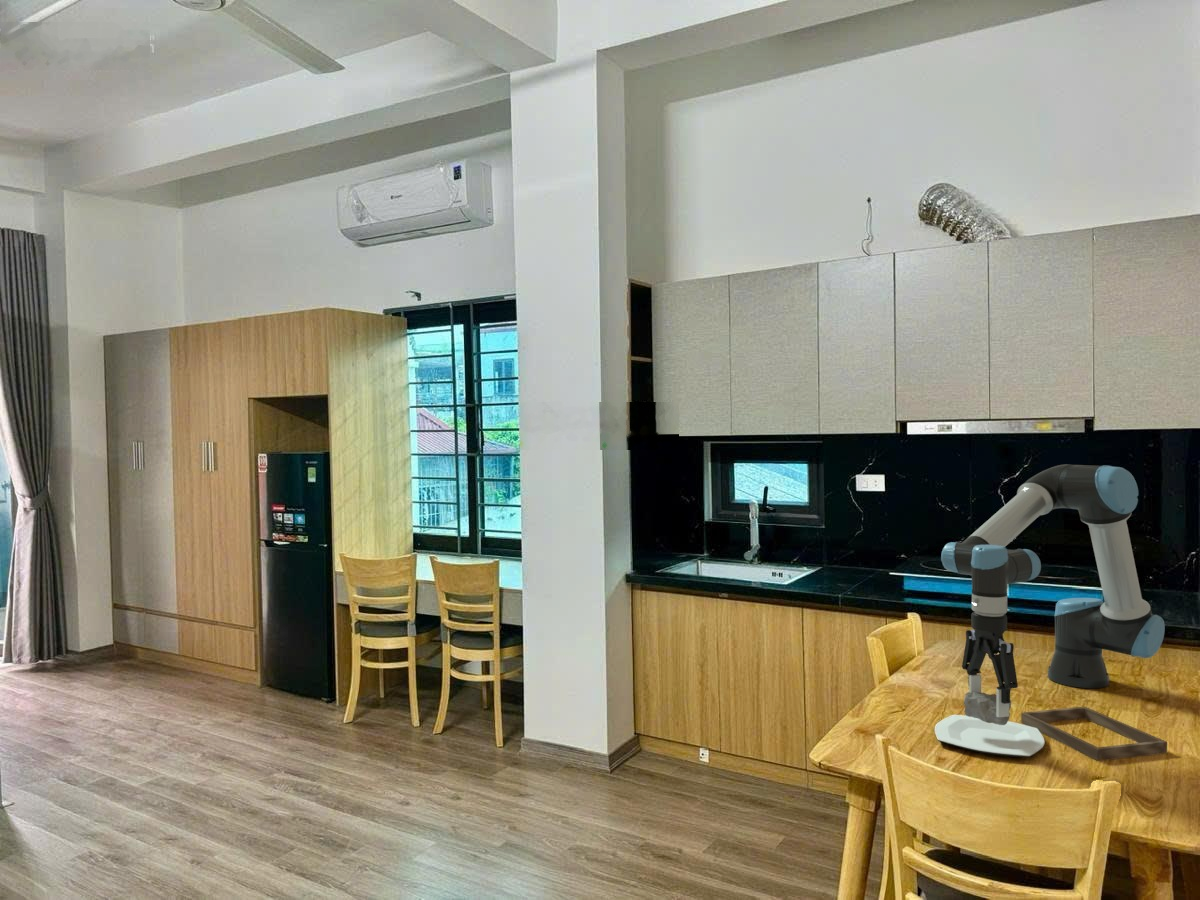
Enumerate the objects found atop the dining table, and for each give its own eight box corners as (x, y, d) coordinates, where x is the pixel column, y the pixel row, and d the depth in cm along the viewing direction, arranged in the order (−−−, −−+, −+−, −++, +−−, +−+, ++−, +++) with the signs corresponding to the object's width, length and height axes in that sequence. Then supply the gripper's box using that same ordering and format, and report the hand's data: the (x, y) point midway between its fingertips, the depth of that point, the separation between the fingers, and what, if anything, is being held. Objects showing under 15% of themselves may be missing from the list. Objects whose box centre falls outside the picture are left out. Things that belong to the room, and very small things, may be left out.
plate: (1040, 769, 184) (1040, 760, 184) (925, 748, 196) (926, 740, 196) (1048, 735, 203) (1048, 726, 203) (944, 718, 215) (944, 710, 215)
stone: (1009, 728, 194) (1008, 703, 194) (962, 722, 199) (961, 697, 199) (1012, 717, 201) (1011, 692, 201) (966, 711, 206) (966, 687, 206)
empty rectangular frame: (1084, 716, 214) (1084, 706, 214) (1166, 753, 191) (1167, 741, 191) (1021, 722, 211) (1021, 712, 210) (1097, 760, 187) (1097, 749, 187)
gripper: (946, 603, 208) (945, 695, 209) (1006, 624, 187) (1005, 727, 188) (973, 601, 210) (973, 693, 211) (1036, 622, 189) (1035, 724, 189)
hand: (988, 709), depth 199 cm, fingers closed on stone, 9 cm apart
